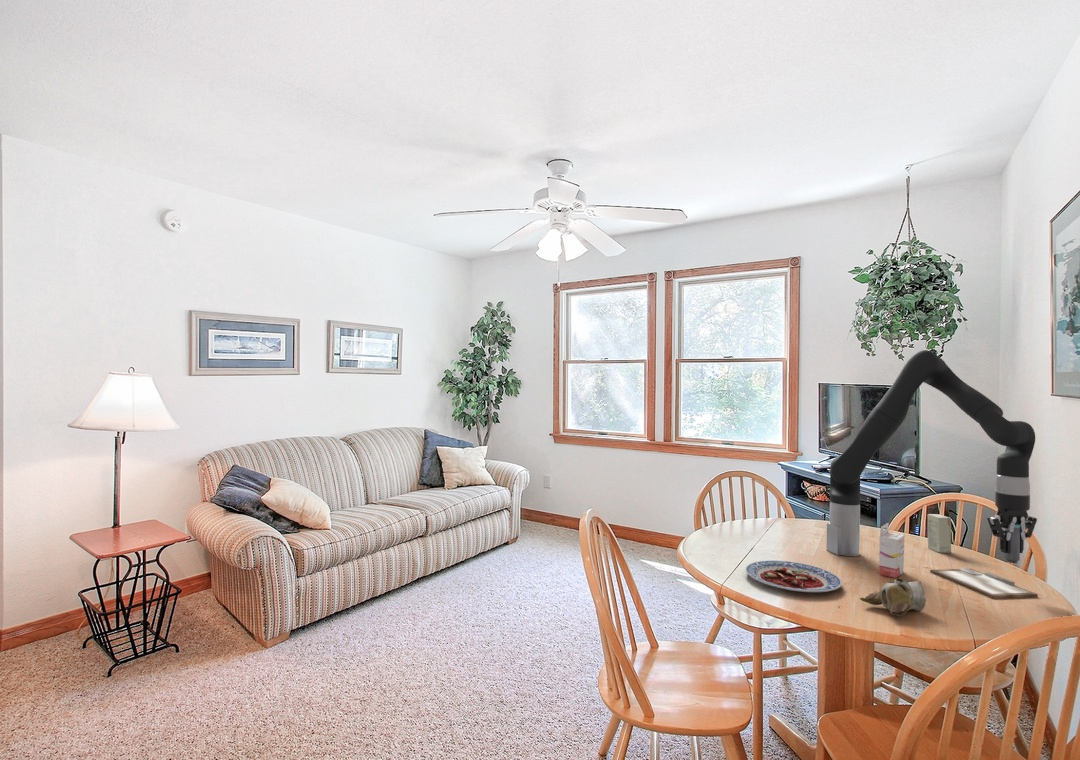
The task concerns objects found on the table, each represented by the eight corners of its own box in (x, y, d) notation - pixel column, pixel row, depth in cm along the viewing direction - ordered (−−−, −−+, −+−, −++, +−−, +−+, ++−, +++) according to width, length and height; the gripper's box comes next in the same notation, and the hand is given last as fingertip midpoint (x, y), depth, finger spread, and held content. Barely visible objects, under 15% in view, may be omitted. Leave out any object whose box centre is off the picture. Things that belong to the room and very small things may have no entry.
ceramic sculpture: (939, 581, 141) (892, 590, 137) (940, 615, 141) (893, 625, 137) (901, 568, 151) (856, 575, 147) (902, 600, 151) (858, 608, 147)
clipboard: (992, 598, 153) (992, 592, 153) (930, 572, 174) (930, 566, 174) (1037, 597, 155) (1037, 590, 155) (970, 571, 176) (970, 565, 176)
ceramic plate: (806, 606, 147) (807, 594, 147) (727, 576, 169) (727, 566, 169) (860, 588, 161) (860, 577, 161) (780, 562, 182) (780, 553, 182)
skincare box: (951, 553, 194) (952, 518, 194) (939, 553, 194) (939, 517, 194) (938, 547, 201) (939, 513, 201) (926, 547, 201) (927, 513, 201)
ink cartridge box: (897, 578, 168) (898, 529, 168) (878, 574, 172) (879, 526, 172) (904, 572, 174) (905, 524, 174) (886, 568, 178) (887, 521, 178)
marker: (1012, 563, 157) (1012, 525, 157) (1000, 559, 160) (1000, 522, 160) (1023, 563, 157) (1023, 525, 157) (1011, 559, 161) (1011, 521, 161)
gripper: (1002, 494, 154) (1001, 557, 154) (1047, 494, 156) (1047, 556, 156) (978, 489, 162) (977, 549, 161) (1021, 488, 163) (1021, 548, 163)
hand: (1011, 552), depth 159 cm, fingers closed on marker, 3 cm apart
